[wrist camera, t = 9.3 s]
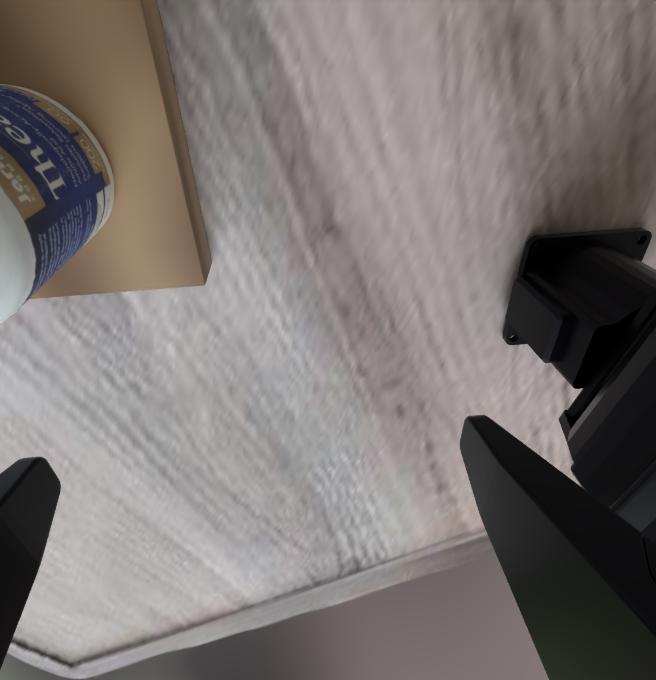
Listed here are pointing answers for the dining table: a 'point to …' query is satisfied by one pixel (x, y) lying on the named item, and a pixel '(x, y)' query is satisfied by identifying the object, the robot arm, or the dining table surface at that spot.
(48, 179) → the pill bottle
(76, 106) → the tan slab
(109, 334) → the dining table surface
